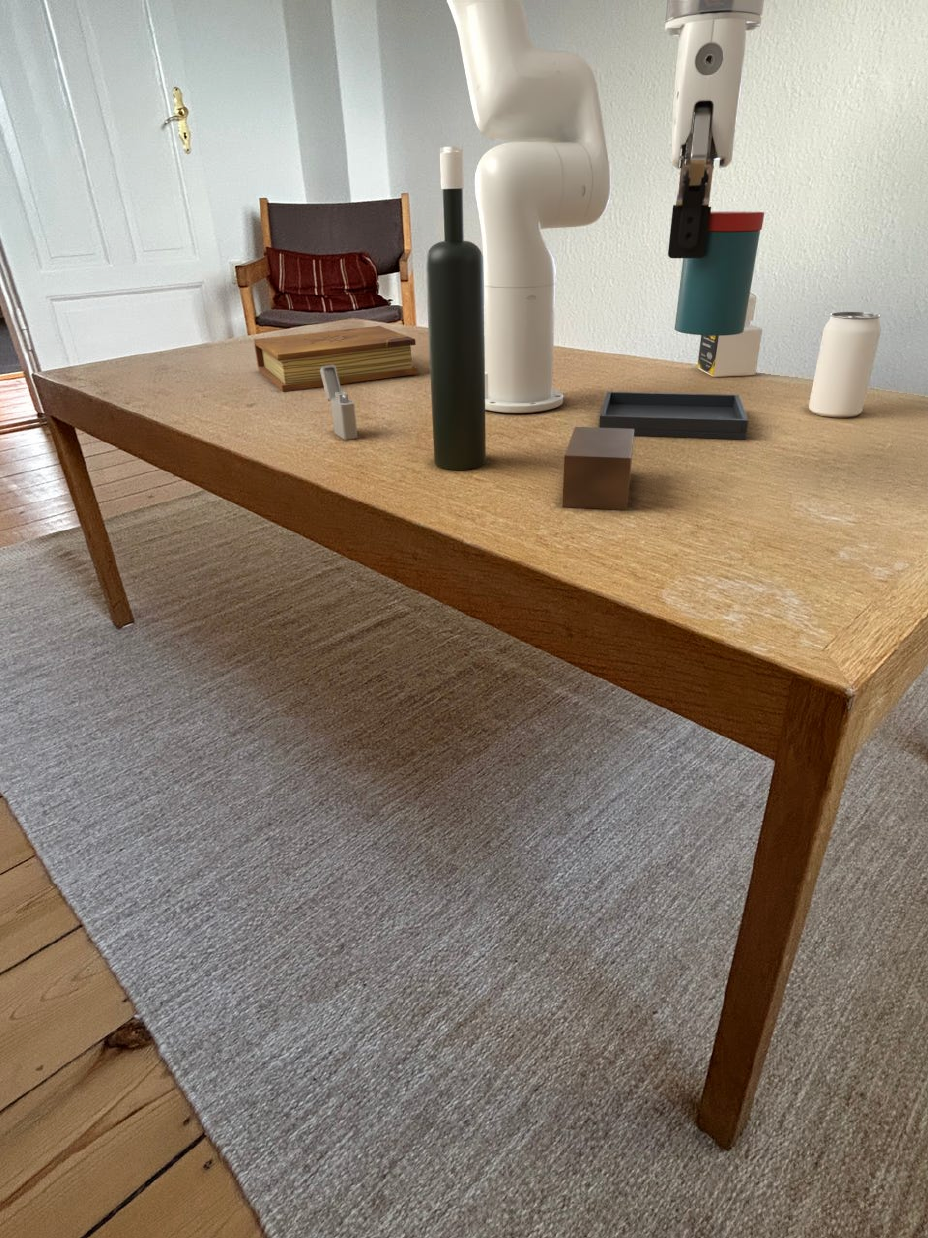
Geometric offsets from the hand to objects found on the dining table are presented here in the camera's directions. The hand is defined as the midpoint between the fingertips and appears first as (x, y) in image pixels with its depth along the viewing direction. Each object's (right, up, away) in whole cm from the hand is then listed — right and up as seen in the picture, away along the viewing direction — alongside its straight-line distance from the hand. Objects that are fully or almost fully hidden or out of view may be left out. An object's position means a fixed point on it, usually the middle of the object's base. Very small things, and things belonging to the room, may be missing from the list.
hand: (685, 252), depth 70 cm
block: (-7, -21, +5) cm, 23 cm away
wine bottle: (-21, -17, +15) cm, 31 cm away
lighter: (-36, -10, +27) cm, 46 cm away
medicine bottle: (+22, +6, +53) cm, 58 cm away
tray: (+6, -9, +27) cm, 29 cm away
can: (+28, -7, +29) cm, 41 cm away
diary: (-43, +8, +60) cm, 75 cm away
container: (-1, -5, +3) cm, 6 cm away
